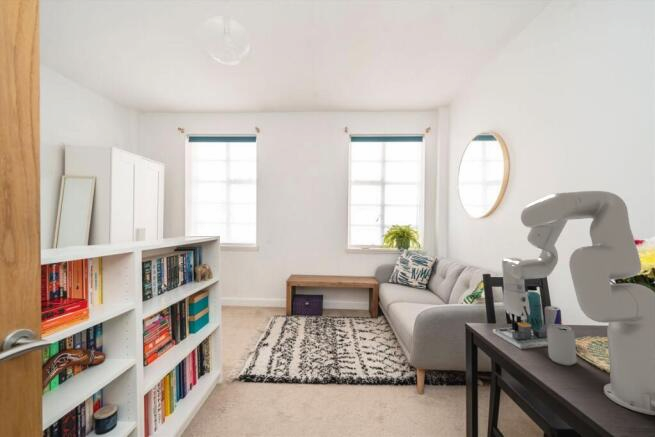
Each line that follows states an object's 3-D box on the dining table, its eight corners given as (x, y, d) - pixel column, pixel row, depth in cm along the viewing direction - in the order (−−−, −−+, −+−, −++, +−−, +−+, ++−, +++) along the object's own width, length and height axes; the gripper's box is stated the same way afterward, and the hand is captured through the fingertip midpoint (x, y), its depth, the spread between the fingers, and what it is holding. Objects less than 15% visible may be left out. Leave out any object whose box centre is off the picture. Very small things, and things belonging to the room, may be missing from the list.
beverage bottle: (521, 329, 127) (518, 284, 127) (530, 325, 129) (527, 282, 130) (537, 333, 121) (534, 287, 121) (546, 330, 124) (543, 284, 124)
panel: (555, 345, 110) (554, 333, 110) (520, 348, 109) (519, 337, 109) (523, 329, 126) (522, 319, 126) (492, 332, 125) (492, 322, 125)
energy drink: (566, 339, 114) (564, 309, 114) (552, 339, 114) (550, 310, 114) (555, 333, 120) (553, 305, 120) (543, 334, 120) (541, 306, 120)
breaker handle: (531, 337, 114) (530, 324, 114) (524, 338, 114) (523, 325, 114) (525, 334, 117) (524, 321, 117) (518, 334, 117) (517, 322, 117)
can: (564, 368, 94) (562, 332, 94) (543, 357, 101) (541, 324, 101) (582, 364, 95) (580, 329, 95) (560, 354, 103) (558, 321, 103)
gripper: (536, 290, 113) (539, 336, 113) (509, 282, 128) (512, 323, 127) (519, 292, 112) (522, 338, 112) (494, 284, 127) (496, 324, 127)
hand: (517, 330), depth 120 cm, fingers closed
